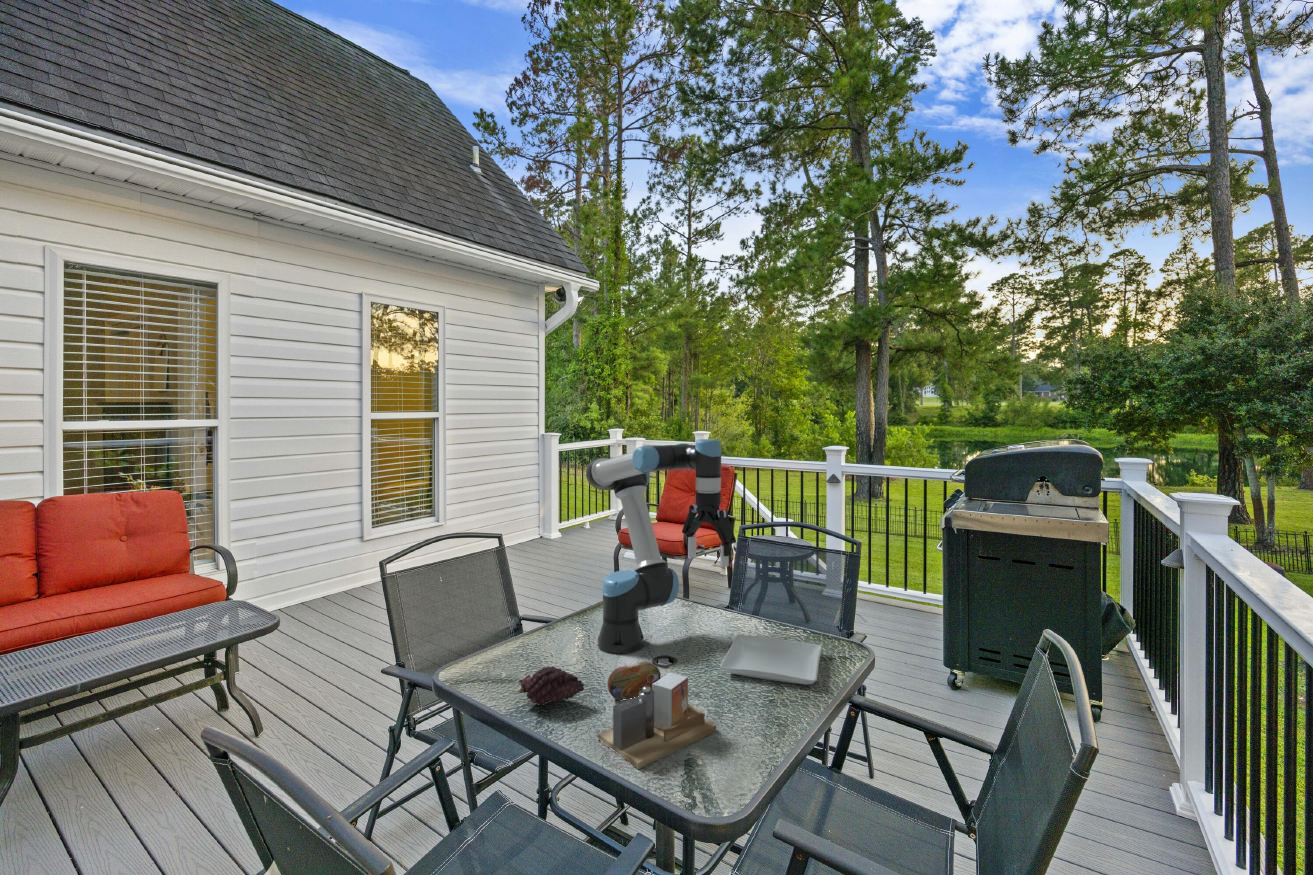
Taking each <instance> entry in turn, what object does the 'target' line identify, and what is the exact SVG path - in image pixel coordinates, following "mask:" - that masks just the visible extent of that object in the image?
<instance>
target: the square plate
mask: <svg viewBox="0 0 1313 875" xmlns="http://www.w3.org/2000/svg"><path fill="white" fill-rule="evenodd" d="M822 650H823V646H822V645H821V644H818V643H817V644H816V643H809V642H802V641H797V640H795V641H794V640H791V639H781V638H774V637H767V636H757V635H749V634H747V635H746V634H737V635H736V636H735V638H734V640H733V642H732V643H731V646H730V648H729V649H728V651H727V653H726V654H725V656H724V657H723V660H722V661H721V663H720V668H721V669H722V670H723V671H725V672H727V673H729V674H732V675H740V676H743V677H745V678H746V677H747V678H755V679H762V680H768V681H776V682H781V683H789V684H800V685H812V684H814V683H815V682H817V680H818V676H819V675H818V672H819V664H820V659H821V654H822Z"/></svg>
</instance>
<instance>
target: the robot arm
mask: <svg viewBox="0 0 1313 875" xmlns="http://www.w3.org/2000/svg"><path fill="white" fill-rule="evenodd" d="M722 455H723V454H722V445H721V441H720V439H714V438H712V439H711V438H701V439H700V438H698V439H696V441H695V444H689V443H676V444H668V445H666V444H665V445H643V446H638V447H636V448H635V449H634V451H631V452H627V453H624V454H621V455H618V456H617V455H616V456H613V457H600V458H596V459H594V460H592V461H591V462H589V464H588V465H587V468H586V470H585V478H586V480H587V482H588V484H589V485H590V486H591V487H592V488H594V489H596V490H599V491H613V492H614V497H615V498H617V499H619V500H620V502H621V506H622V510H623V511H622V512H623V514H624V519H625V524H626V526H627V530H628V535H629V538H630V543H631V547H632V550H633V551H632V552H633V554H634V559H635V562H636V566H635V568H634V570H632V569H626V570H618V571H614V572H611V573H610V574H608V575H606V576H605V578H604V580H603V582H602V590H601V592H602V624H601V628H600V631H599V635H598V636H597V647H598V646H599V647H598V649H599V650H601V649H602V650H601V651H603V650H604V651H603V652H605V651H606V653H609V652H610V654H616V653H623V654H630V653H634V652H637V651H640V650H641V649H642V648H643V647H644V644H645V638H644V637H645V636H644V634H643V631H642V627H641V624H640V621H639V611H642V610H647V609H651V608H655V607H656V608H657V607H662V606H665V605H669V604H671V603H674V601H675V600H676V599H677V597H678V594H679V590H680V580H679V576H678V573H677V572H676V571H675V570H674V569H673V568H672V567H671V568H670V567H669V566H668V562H667V561H666V560H664V559H663V558H662V556H661V553H660V549H659V545H658V542H657V538H656V535H655V531H654V527H653V524H652V520H651V519H652V518H651V516H650V513H649V507H648V504H647V501H646V495H645V493H646V491H647V489H648V487H647V486H649V485H648V484H649V482H650V476H651V475H650V474H651V473H653V472H657V471H673V470H688V469H689V470H695V504H690V505H689V506H688V513H687V516H686V519H685V522H684V524H683V527H682V530H681V532H682V534H685V536H686V546H687V558H688V559H694V558H697V536H696V533H697V531H698V530H699V529H700V527H701V526H702V524H703V523H707V524H710V525H711V526H712V527H713V529H714V531H715V532H716V534H717V536H718V538H719V539H720V542H721V544H720V554H719V555H720V559H719V560H720V561H719V562H720V563H719V564H720V568H727V567H729V564H730V563H729V562H730V561H729V560H730V559H729V558H730V556H731V545H732V544H737V540H736V537H735V533H734V531H733V528H732V524H731V521H730V518H729V512H728V509H723V510H722V509H721V510H720V505H721V503H722V493H721V492H720V491H721V489H722V488H721V487H722Z"/></svg>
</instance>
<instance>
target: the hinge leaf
mask: <svg viewBox="0 0 1313 875" xmlns="http://www.w3.org/2000/svg"><path fill="white" fill-rule="evenodd" d="M612 717H613V718H612V723H613V725H612V728H613V745H614V746H615V747H617V748H618V749H620V750H621V751H622V750H624V749H626V748H628V747H630V746H633V745H635V744H637V743H639V742H641V741H644V740H646V739H649V738H652V737H653V736H654V691H653V690H650V686H644V687H643V690H640V691H639V697H638V696H637V697H635V698H632V699H629V700H625V701H621V702H620V703H618V704H616V705H612Z"/></svg>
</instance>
